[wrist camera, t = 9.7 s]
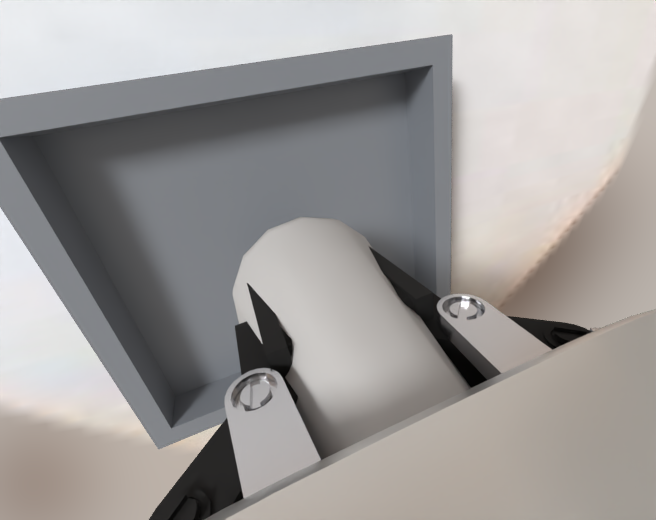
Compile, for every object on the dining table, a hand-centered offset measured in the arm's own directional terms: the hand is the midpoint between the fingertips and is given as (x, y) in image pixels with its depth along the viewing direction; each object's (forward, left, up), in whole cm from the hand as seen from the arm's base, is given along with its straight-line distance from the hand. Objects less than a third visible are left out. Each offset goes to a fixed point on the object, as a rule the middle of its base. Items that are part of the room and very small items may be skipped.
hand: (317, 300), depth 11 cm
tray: (0, 0, -7) cm, 7 cm away
